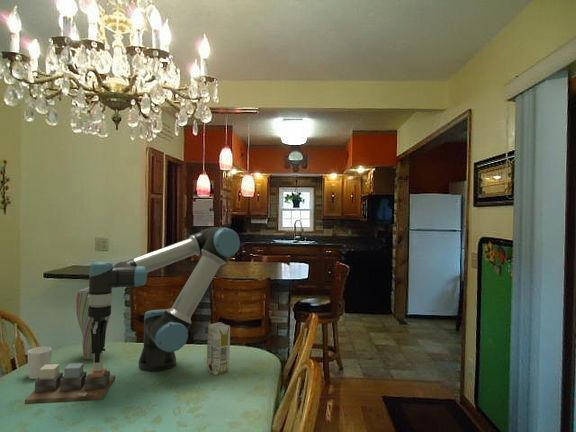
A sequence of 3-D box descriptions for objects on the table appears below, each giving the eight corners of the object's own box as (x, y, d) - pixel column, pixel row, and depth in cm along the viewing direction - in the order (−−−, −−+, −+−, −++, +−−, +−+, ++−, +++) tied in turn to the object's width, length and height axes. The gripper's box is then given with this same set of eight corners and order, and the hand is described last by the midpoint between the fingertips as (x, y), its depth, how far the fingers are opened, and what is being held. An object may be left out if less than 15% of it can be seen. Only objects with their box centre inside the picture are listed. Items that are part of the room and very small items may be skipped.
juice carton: (215, 376, 159) (216, 328, 159) (204, 370, 166) (205, 323, 166) (231, 372, 164) (232, 325, 164) (220, 366, 171) (221, 321, 171)
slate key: (83, 376, 146) (83, 363, 146) (78, 382, 142) (79, 368, 142) (68, 377, 146) (69, 363, 146) (63, 382, 141) (64, 368, 141)
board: (115, 378, 155) (115, 364, 155) (102, 399, 137) (103, 384, 137) (46, 381, 150) (47, 367, 150) (24, 403, 133) (25, 387, 133)
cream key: (59, 377, 145) (59, 364, 145) (54, 383, 140) (54, 369, 140) (44, 378, 144) (45, 364, 144) (38, 384, 139) (39, 369, 139)
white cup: (39, 380, 151) (40, 354, 151) (21, 378, 152) (22, 352, 152) (55, 373, 158) (56, 347, 158) (38, 371, 160) (39, 345, 160)
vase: (100, 363, 170) (102, 292, 170) (68, 362, 170) (70, 291, 170) (114, 352, 183) (116, 286, 183) (84, 351, 183) (86, 286, 184)
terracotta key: (106, 381, 148) (106, 368, 148) (102, 387, 143) (103, 373, 143) (92, 382, 147) (92, 368, 147) (88, 388, 142) (88, 373, 142)
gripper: (94, 301, 151) (91, 364, 151) (83, 309, 138) (80, 378, 138) (115, 301, 152) (113, 363, 152) (106, 308, 140) (104, 377, 139)
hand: (97, 370), depth 145 cm, fingers closed
